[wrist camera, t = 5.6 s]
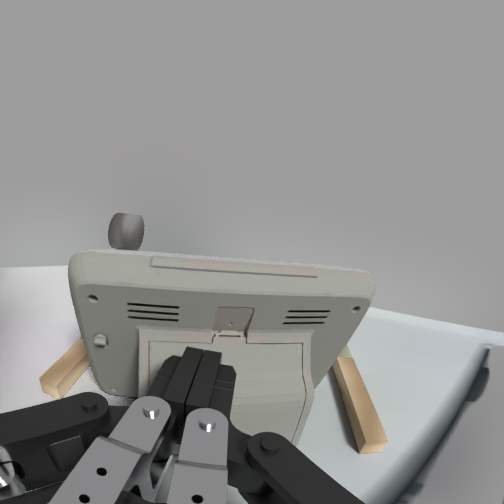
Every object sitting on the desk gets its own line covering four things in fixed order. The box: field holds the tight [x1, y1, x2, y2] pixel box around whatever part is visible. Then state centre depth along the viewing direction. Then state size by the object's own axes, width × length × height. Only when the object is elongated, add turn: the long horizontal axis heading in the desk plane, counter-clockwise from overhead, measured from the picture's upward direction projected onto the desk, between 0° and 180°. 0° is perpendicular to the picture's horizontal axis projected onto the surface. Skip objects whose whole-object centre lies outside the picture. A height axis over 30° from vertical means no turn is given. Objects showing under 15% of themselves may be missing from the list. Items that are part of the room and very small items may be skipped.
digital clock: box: [68, 249, 375, 454], centre depth 16 cm, size 16×9×11 cm, turn 92°
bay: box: [39, 213, 388, 454], centre depth 23 cm, size 24×20×10 cm
